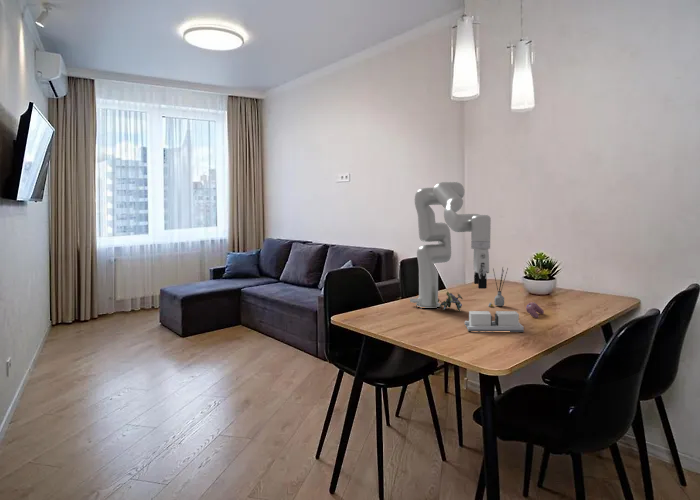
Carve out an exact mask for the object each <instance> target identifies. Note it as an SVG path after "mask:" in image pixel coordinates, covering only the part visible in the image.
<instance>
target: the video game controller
mask: <svg viewBox="0 0 700 500" xmlns="http://www.w3.org/2000/svg"><path fill="white" fill-rule="evenodd" d="M525 310H526V312H527V313H528V314H529V315H530V316H531V317H533V318H535V319H538V318H539V314H540V315H543V314H544V309H542V308H541V307H540V305H538V303H536V302H533V301H532V302H529V303H527V305H526V306H525Z"/></svg>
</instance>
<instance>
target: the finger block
mask: <svg viewBox="0 0 700 500" xmlns="http://www.w3.org/2000/svg"><path fill="white" fill-rule="evenodd" d="M468 321H469V326H492V321H493V315H492V314H491V312H490V311H489V310H468Z"/></svg>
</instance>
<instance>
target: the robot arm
mask: <svg viewBox="0 0 700 500" xmlns="http://www.w3.org/2000/svg"><path fill="white" fill-rule="evenodd" d="M464 196H465V187H464V186H463V185H462V184H461V183H460V182H458V181H456V182H455V181H452V182H451V181H442V182H438V183H437V184H435V185H434V187H423V188H419V189H418V190H417V191H416V192H415V195H414V206H415V209H416V214H417V224H418V237H419V241H422V242H424V243H431V242H434V243H435V244H433V243H432V244H423V245H421V246H419V247H418V248H417V250H416V257H417V258H416V259H417V264H418V265H417V266H418V296H417V297H416V298H409V302H410V303H412V304H413V303H415V306H416V305H417V306H420V307H425V308H437V307H439V306H440V305H441V303H440V302H438V298H439V271H438V269H437V268H436V266H435V264H440V263H447V262H449V261H450V260H451V258H452V241H451V240H452V239H451V230H452V231H453V232H455V233H466V232H471V235H470V236H471V238H470V239H471V240H470V241H471V244H470V246H471V247H470V249H472V250H473V261H472V262H473V270H474V273H473V274H474V275H473V283H474V284H475V285H477V288H478V289H479V290H480V289H482V290H483V289H487V288H488V287H487V286H488V285H487V282H488V278H487V274H489V273H490V254H489V253H490V252H489V250H490V249H491V229H492V228H491V227H492V226H491V224H492V220H491V218H492V217H491V216H490V215H488V214H478V213H461V214H460V213H459V214H458V213H457V212H458V211H460V210H461V209H462V207H463V204H464V200H463V197H464ZM441 205H442V207H443V208H444V209H443V218H444V222H436V215H435V212H434V209H433V208H432V207H431V206H441ZM436 242H438V243H437V244H436ZM437 309H438V308H437Z"/></svg>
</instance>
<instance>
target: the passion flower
mask: <svg viewBox="0 0 700 500" xmlns="http://www.w3.org/2000/svg"><path fill="white" fill-rule="evenodd" d="M456 294H457V297H456V296H455V295H454V294H453V293H452V292H449V291H447V292H446V296H447V297H446V299H445V300H443V301H442V300H440V298H439V297H438V303H440V302H441V303H440V304H441V305H440V306H439V307H440V308H441V307H443V310H446V309H448V307H450V308H451V307H452V304H455V307H456V309H457V311H458V310H459V311H458V312H461V311H460V310H461V308H462V306H463V304H462V303H461V301H460V300H459V299H461V300H463V299H464V298H463V296H462V295H461V294H459V292H458V293H456Z"/></svg>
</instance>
